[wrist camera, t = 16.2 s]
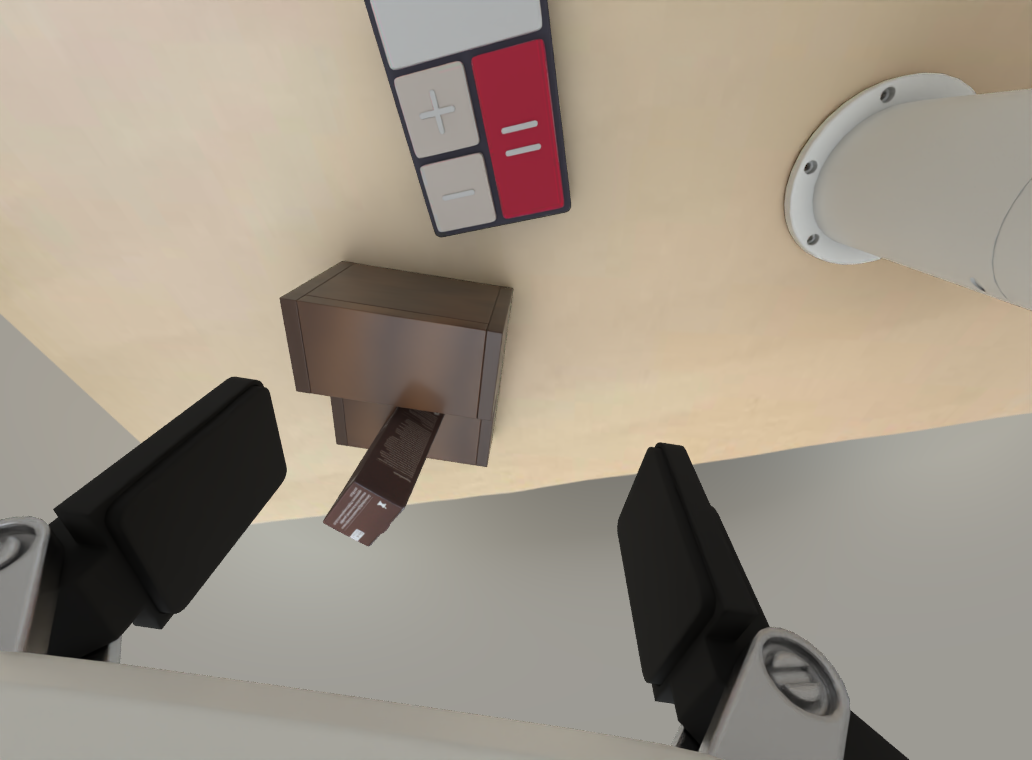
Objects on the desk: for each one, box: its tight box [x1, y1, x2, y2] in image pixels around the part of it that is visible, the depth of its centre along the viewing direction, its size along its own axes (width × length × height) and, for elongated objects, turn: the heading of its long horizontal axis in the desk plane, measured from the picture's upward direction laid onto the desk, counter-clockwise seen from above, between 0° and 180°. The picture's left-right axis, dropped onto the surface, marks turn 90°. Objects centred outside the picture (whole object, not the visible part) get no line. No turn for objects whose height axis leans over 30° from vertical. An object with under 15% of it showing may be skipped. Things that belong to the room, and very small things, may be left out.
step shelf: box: [280, 261, 513, 467], centre depth 37 cm, size 16×18×10 cm
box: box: [323, 407, 445, 546], centre depth 34 cm, size 6×4×12 cm
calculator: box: [364, 0, 571, 237], centre depth 28 cm, size 11×4×15 cm
